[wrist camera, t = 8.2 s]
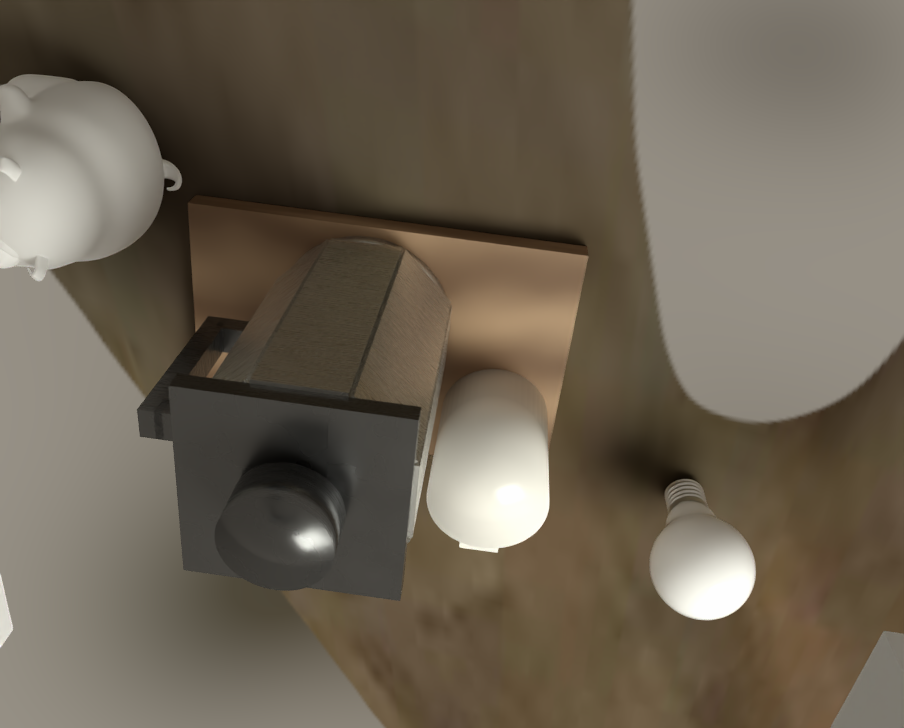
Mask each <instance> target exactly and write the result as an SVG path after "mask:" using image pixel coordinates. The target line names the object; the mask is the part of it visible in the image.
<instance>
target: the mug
mask: <svg viewBox="0 0 904 728" xmlns="http://www.w3.org/2000/svg"><path fill="white" fill-rule="evenodd" d="M427 506H428V510H429V513H430V515H431V517H432V519H433V520H434V522H435V523H436V524H437V526H438V527H439V528H440V529H441V530H442V531H443V532H445V533H446V534H447V535H449V536H450V537H452V538H453V539H455V540H457V541H459V542H460V544H459V547H461V548H468V549H475V550H482V551H489V552H496V553H498V548H502V547H507V546H511V545H515V544H518V543H520V542H522V541H524V540H526V539H527V538H529V537H531V536H532V535H533V534H534V533H536V531H537V530H538V529H539V528H540V527H541V526H542V524H543V523H544V521H545V519H546V517H547V514H548V511H549V466H548V420H547V407H546V403H545V400H544V398H543V396H542V394H541V393H540V391H539V390H538V389H537V388H536V387H535V386H534V385H533V384H532V383H531V382H530V381H529V380H527V379H526V378H524V377H522V376H520V375H518V374H516V373H513V372H510V371H506V370H499V369H487V370H480V371H476V372H473V373H471V374H468V375H466V376H464V377H462V378H461V379H460V380H458V381H457V382H456V383H455V384H454V385H453V386H452V387H451V388H450V389H449V391H448V392H447V394H446V396H445V399H444V401H443V406H442V411H441V417H440V422H439V428H438V434H437V439H436V445H435V450H434V456H433V462H432V467H431V473H430V478H429V484H428V490H427Z"/></svg>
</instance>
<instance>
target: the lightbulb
mask: <svg viewBox="0 0 904 728" xmlns="http://www.w3.org/2000/svg"><path fill="white" fill-rule="evenodd" d="M664 496H665V501H666V506H667V510H668V516H667V520H666V527H665V528H664V529H663V530H662V531H661V532H660V534H659V535H658V537H657V538H656V540H655V542H654V544H653V547H652V550H651V553H650V561H649V568H650V575H651V579H652V582H653V585H654V587H655V589H656V591H657V592H658V594H659V595H660V597H661V598H662V599H663V601H664V602H665V603H666V604H667V605H668V606H670V607H671V608H672V609H673V610H675V611H676V612H678V613H680V614H682V615H684V616H686V617H689V618H693V619H698V620H715V619H720V618H723V617H726V616H728V615H730V614H732V613H733V612H735V611H736V610H738V609H739V608H740V607H741V606H742V605H743V604H744V603H745V602H746V600H747V599H748V597H749V596H750V594H751V592H752V589H753V586H754V583H755V577H756V566H755V560H754V556H753V553H752V551H751V548H750V546H749V544H748V543H747V541H746V540H745V538H744V537H743V536H742V535H741V534H740V533H739V532H738V531H737V530H736V529H735V528H734V527H733V526H731V525H730V524H728V523H727V522H725V521H723V520H721V519H719V518H716V516H715V514H714V513H713V512H712V510H711V509H710V508H708V505H707V502H706V498H705V494H704V491H703V488H702V486H701V485H700V484H699V483H698V482H696V481H694V480H691V479H680V480H676V481H674V482H672V483H671V484H670V485H669V486H668V487H667V488H666V490H665V494H664Z"/></svg>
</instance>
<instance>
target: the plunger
mask: <svg viewBox="0 0 904 728" xmlns="http://www.w3.org/2000/svg"><path fill="white" fill-rule="evenodd" d="M345 518H346V510H345V505H344V502H343V499H342V497H341V495H340V493H339V492H338V491H337V489H336V488H335V487H334V486H333V484H332V483H331V482H330V481H328V480H327V479H326V478H325V477H324V476H322V475H321V474H319V473H317V472H316V471H314V470H312V469H309V468H307V467H305V466H301V465H298V464H293V463H286V462H273V463H266V464H262V465H259V466H257V467H254V468H252V469H251V470H249V471H247V472H246V473H245V474H244V475H243V476H242V477H241V478H240V479H239V481H238V482H237V484H236V486H235V488H234V490H233V492H232V494H231V496H230V498H229V500H228V502H227V504H226V506H225V508H224V510H223V512H222V514H221V516H220V518H219V520H218V522H217V524H216V527H215V534H214V539H215V545H216V548H217V551H218V553H219V555H220V557H221V558H222V560H223V561H224V562H225V564H226V565H227V566H228V567H229V568H230V569H231V570H232V571H233V572H235V573H236V574H237V575H238V576H240V577H241V578H243V579H245V580H247V581H249V582H251V583H253V584H255V585H258V586H261V587H264V588H268V589H274V590H298V589H302V588H306V587H309V586H311V585H313V584H315V583H317V582H318V581H320V580H321V579H322V578H323V577H324V576H325V575H326V574H327V573H328V572H329V570H330V568H331V566H332V563H333V560H334V557H335V554H336V550H337V547H338V544H339V540H340V537H341V534H342V530H343V527H344V524H345Z"/></svg>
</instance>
